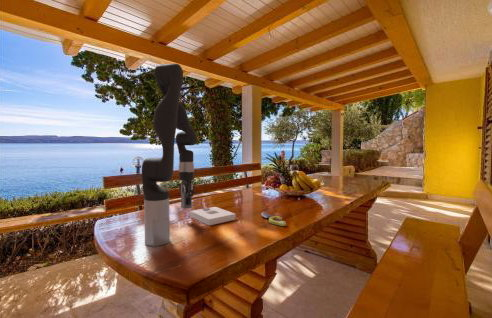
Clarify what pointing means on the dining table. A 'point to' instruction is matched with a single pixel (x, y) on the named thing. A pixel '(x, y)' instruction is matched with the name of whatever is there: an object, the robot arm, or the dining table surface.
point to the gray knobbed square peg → (183, 201)
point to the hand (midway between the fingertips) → (186, 204)
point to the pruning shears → (274, 219)
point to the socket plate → (212, 215)
